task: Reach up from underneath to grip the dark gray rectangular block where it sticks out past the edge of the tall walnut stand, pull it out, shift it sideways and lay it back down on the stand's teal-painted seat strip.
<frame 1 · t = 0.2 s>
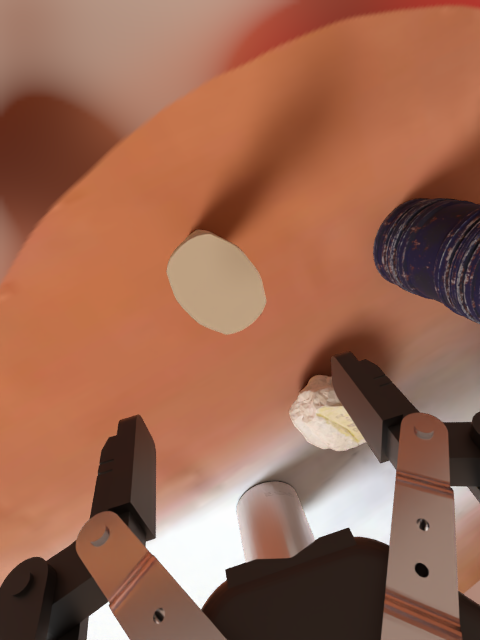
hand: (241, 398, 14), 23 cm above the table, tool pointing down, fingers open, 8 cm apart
storage jar: (411, 243, 38), on the table
handle: (200, 245, 34), on the table
fossil replica: (323, 395, 44), on the table
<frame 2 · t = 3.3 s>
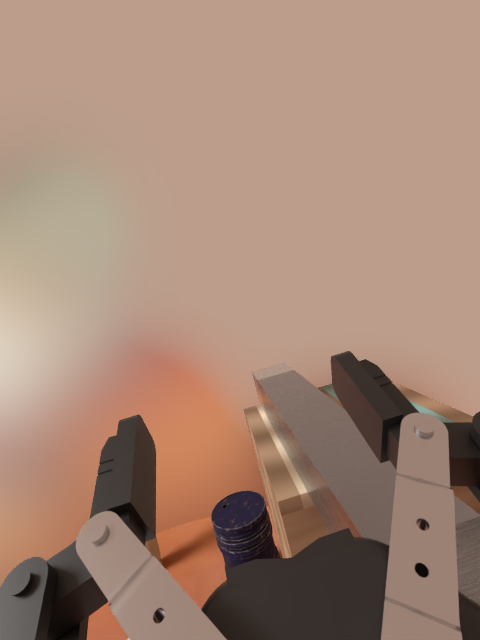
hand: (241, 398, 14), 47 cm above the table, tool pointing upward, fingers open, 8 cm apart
storage jar: (259, 586, 60), on the table
handle: (155, 569, 70), on the table
dark gray rectangular block: (316, 454, 26), point 38 cm above the table, touching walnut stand
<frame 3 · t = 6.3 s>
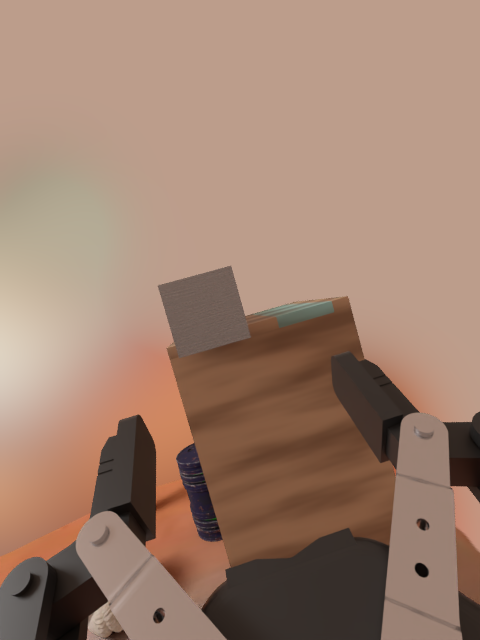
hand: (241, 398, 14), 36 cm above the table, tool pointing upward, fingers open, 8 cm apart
storage jar: (222, 523, 65), on the table
fossil replica: (117, 612, 51), on the table
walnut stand: (335, 632, 39), on the table
dark gray rectangular block: (213, 331, 32), point 38 cm above the table, touching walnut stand
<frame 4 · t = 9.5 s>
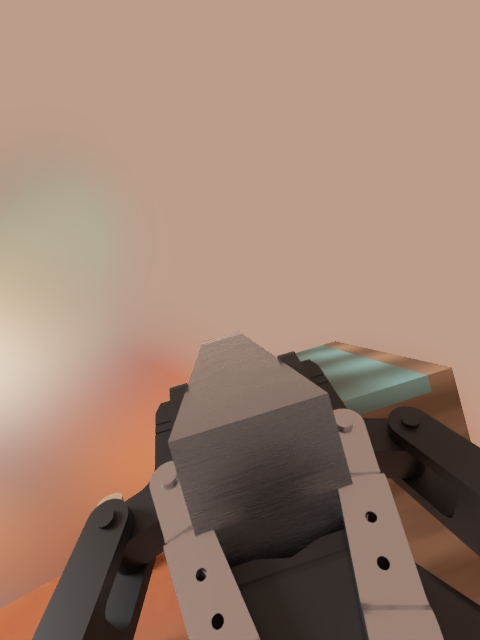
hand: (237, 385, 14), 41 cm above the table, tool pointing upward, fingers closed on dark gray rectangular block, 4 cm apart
dark gray rectangular block: (242, 409, 22), point 38 cm above the table, touching gripper, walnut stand
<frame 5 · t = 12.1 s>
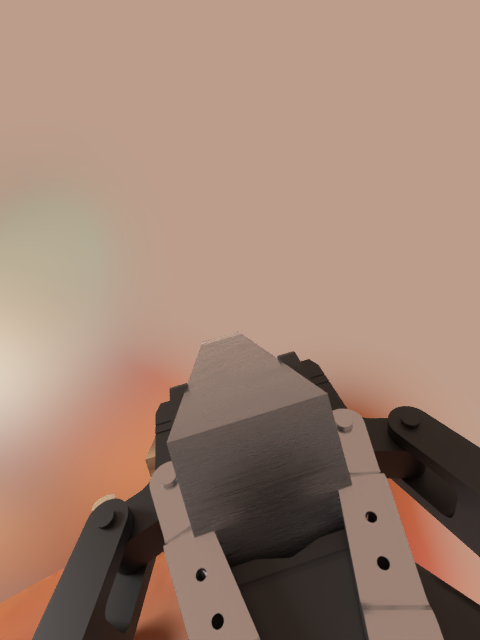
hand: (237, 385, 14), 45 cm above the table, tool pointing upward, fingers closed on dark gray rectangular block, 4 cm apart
dark gray rectangular block: (242, 409, 22), point 41 cm above the table, touching gripper
when the fingers open (43 cm above the table, at t = 15.0 s): dark gray rectangular block drops 1 cm, resting on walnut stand.
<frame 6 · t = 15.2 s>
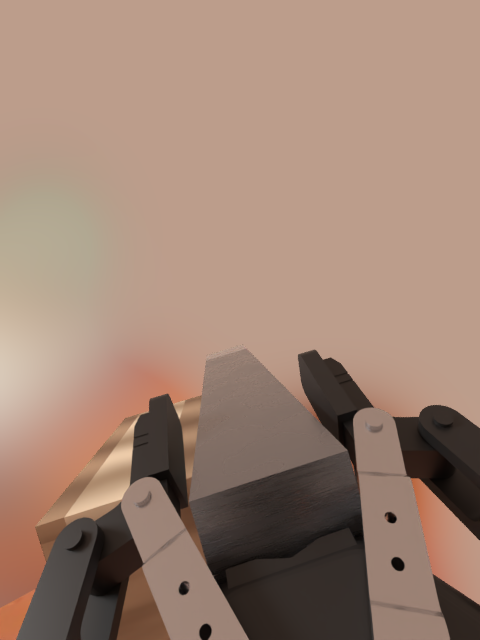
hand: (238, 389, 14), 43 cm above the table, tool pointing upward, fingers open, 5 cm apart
dark gray rectangular block: (249, 430, 22), point 38 cm above the table, touching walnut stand
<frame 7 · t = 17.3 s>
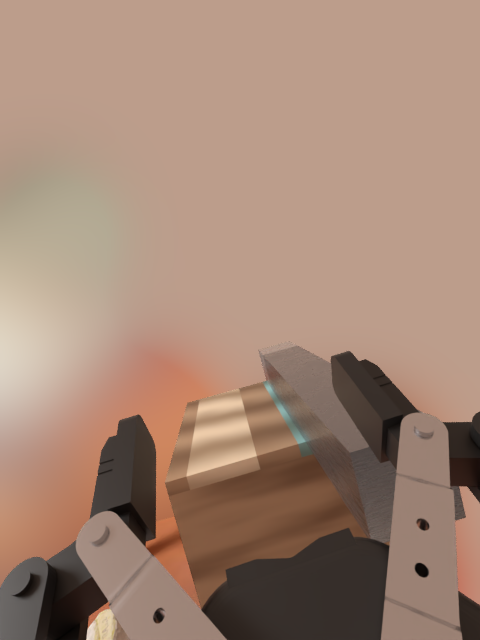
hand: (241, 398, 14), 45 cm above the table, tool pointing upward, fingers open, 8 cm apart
dark gray rectangular block: (315, 414, 27), point 38 cm above the table, touching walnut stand
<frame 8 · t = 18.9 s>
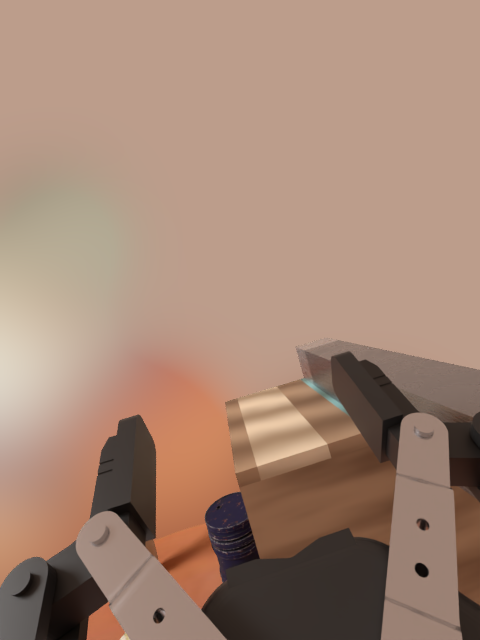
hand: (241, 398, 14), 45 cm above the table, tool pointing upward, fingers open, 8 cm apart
storage jar: (254, 589, 59), on the table
dark gray rectangular block: (374, 404, 27), point 38 cm above the table, touching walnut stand
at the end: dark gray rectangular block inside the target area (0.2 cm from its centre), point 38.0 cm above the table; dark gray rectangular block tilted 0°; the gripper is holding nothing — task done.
